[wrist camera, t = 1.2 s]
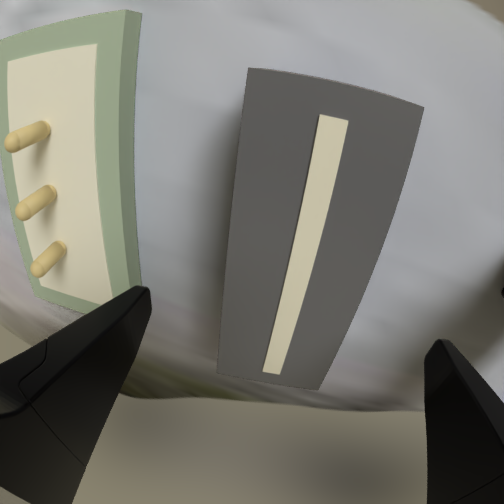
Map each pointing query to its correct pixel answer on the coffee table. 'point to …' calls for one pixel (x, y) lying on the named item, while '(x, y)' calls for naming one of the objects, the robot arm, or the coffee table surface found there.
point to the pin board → (73, 155)
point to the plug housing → (307, 220)
